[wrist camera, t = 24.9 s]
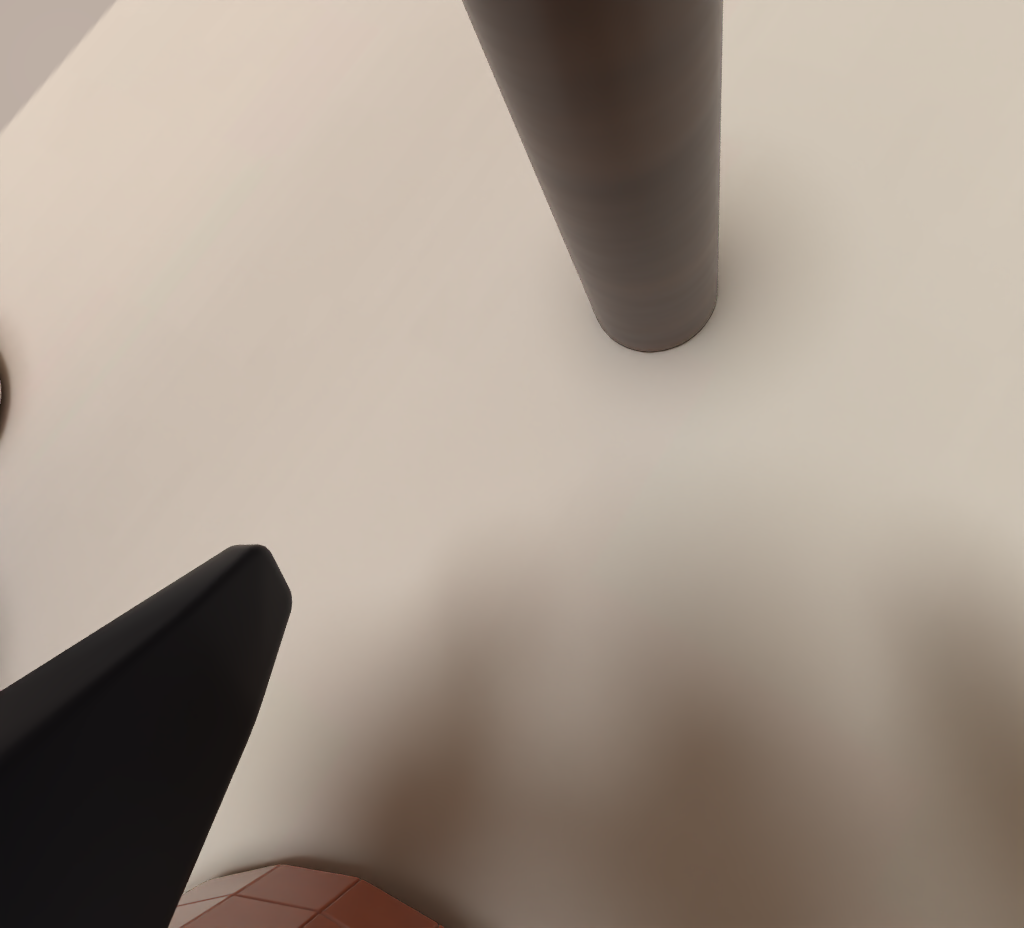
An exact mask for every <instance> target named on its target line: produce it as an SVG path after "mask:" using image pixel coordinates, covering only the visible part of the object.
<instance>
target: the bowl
mask: <svg viewBox="0 0 1024 928" xmlns="http://www.w3.org/2000/svg"><path fill="white" fill-rule="evenodd" d="M168 928H444V927H443V926H442V925H439V926H438V923H437V922H436V921H434V920H432V919H430V918H429V917H427V916H425V915H424V914H422V913H420V912H418V911H417V910H415V909H413V908H412V907H410V906H408V905H406V904H405V903H403V902H401V901H400V900H398V899H396V898H394V897H393V896H391V895H389V894H388V893H386V892H384V891H382V890H381V889H379V888H377V887H376V886H374V885H372V884H370V883H369V882H367V881H365V880H362V879H361V880H360V878H358V877H353V876H348V875H342V874H336V873H331V872H325V871H319V870H314V869H308V868H302V867H296V866H291V865H285V864H283V865H280V864H277V865H273V866H268V867H264V868H259V869H255V870H250V871H246V872H241V873H237V874H232V875H228V876H223V877H219V878H214V879H210V880H208V881H205V882H203V883H202V884H200V885H198V886H197V887H195V888H193V889H191V890H190V891H188V892H186V893H184V894H183V895H182V896H181V899H180V901H179V903H178V906H177V908H176V910H175V913H174V915H173V917H172V920H171V922H170V924H169V927H168Z"/></svg>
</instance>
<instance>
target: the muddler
mask: <svg viewBox="0 0 1024 928" xmlns="http://www.w3.org/2000/svg"><path fill="white" fill-rule="evenodd" d="M462 2H463V4H464V6H465V9H466V11H467V13H468V16H469V18H470V20H471V23H472V25H473V28H474V30H475V32H476V35H477V37H478V39H479V42H480V44H481V46H482V49H483V51H484V53H485V56H486V58H487V61H488V63H489V65H490V68H491V70H492V72H493V75H494V77H495V79H496V82H497V84H498V86H499V89H500V91H501V94H502V96H503V98H504V101H505V103H506V105H507V108H508V110H509V112H510V115H511V117H512V119H513V122H514V124H515V127H516V129H517V131H518V134H519V136H520V138H521V141H522V143H523V145H524V148H525V150H526V152H527V155H528V157H529V160H530V162H531V164H532V167H533V169H534V171H535V174H536V176H537V178H538V181H539V183H540V185H541V188H542V190H543V193H544V195H545V197H546V200H547V202H548V204H549V207H550V209H551V211H552V214H553V216H554V218H555V221H556V223H557V226H558V228H559V230H560V233H561V235H562V237H563V240H564V242H565V244H566V247H567V249H568V251H569V254H570V256H571V259H572V261H573V263H574V266H575V268H576V270H577V273H578V275H579V277H580V280H581V282H582V284H583V287H584V289H585V292H586V294H587V296H588V299H589V301H590V303H591V306H592V308H593V310H594V313H595V315H596V317H597V320H598V322H599V323H600V325H601V327H602V328H603V330H604V331H605V332H606V333H607V334H608V335H609V336H610V337H611V338H612V339H613V340H615V341H616V342H618V343H619V344H621V345H623V346H625V347H628V348H631V349H634V350H639V351H661V350H666V349H670V348H673V347H675V346H678V345H680V344H682V343H684V342H686V341H687V340H689V339H690V338H692V337H693V336H694V335H695V334H696V333H698V332H699V331H700V330H701V328H702V327H703V326H704V325H705V324H706V322H707V321H708V319H709V318H710V316H711V314H712V312H713V310H714V307H715V304H716V299H717V292H718V244H719V191H720V137H721V84H722V30H723V0H462Z"/></svg>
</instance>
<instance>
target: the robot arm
mask: <svg viewBox="0 0 1024 928" xmlns="http://www.w3.org/2000/svg"><path fill="white" fill-rule="evenodd" d="M291 607H292V596H291V591H290V589H289V587H288V585H287V583H286V581H285V579H284V577H283V575H282V573H281V571H280V569H279V567H278V565H277V563H276V561H275V559H274V557H273V556H272V554H271V552H270V551H269V550H268V549H267V548H266V547H265V546H262V545H235V546H231V547H229V548H227V549H226V550H224V551H222V552H221V553H219V554H218V555H216V556H214V557H213V558H211V559H210V560H208V561H207V562H205V563H203V564H202V565H200V566H199V567H197V568H195V569H194V570H192V571H191V572H189V573H188V574H186V575H184V576H183V577H181V578H180V579H178V580H176V581H175V582H173V583H172V584H170V585H168V586H167V587H165V588H164V589H162V590H161V591H159V592H157V593H156V594H154V595H153V596H151V597H149V598H148V599H146V600H145V601H143V602H142V603H140V604H138V605H137V606H135V607H134V608H132V609H130V610H129V611H127V612H126V613H124V614H123V615H121V616H119V617H118V618H116V619H115V620H113V621H111V622H110V623H108V624H107V625H105V626H104V627H102V628H100V629H99V630H97V631H96V632H94V633H92V634H91V635H89V636H88V637H86V638H84V639H83V640H81V641H80V642H78V643H77V644H75V645H73V646H72V647H70V648H69V649H67V650H65V651H64V652H62V653H61V654H59V655H58V656H56V657H54V658H53V659H51V660H50V661H48V662H46V663H45V664H43V665H42V666H40V667H39V668H37V669H35V670H34V671H32V672H31V673H29V674H27V675H26V676H24V677H23V678H21V679H19V680H18V681H16V682H15V683H13V684H12V685H10V686H8V687H7V688H5V689H4V690H2V691H0V928H168V927H169V924H170V922H171V920H172V917H173V915H174V913H175V910H176V908H177V906H178V903H179V901H180V899H181V896H182V894H183V891H184V889H185V887H186V884H187V882H188V880H189V877H190V875H191V873H192V870H193V868H194V866H195V863H196V861H197V859H198V856H199V854H200V852H201V849H202V847H203V845H204V842H205V840H206V838H207V835H208V833H209V831H210V828H211V826H212V823H213V821H214V819H215V816H216V814H217V812H218V809H219V807H220V805H221V802H222V800H223V798H224V795H225V793H226V791H227V788H228V786H229V784H230V781H231V779H232V777H233V774H234V772H235V770H236V767H237V765H238V763H239V760H240V758H241V756H242V753H243V751H244V748H245V746H246V744H247V741H248V739H249V737H250V734H251V731H252V729H253V726H254V724H255V721H256V719H257V716H258V713H259V710H260V707H261V704H262V701H263V698H264V695H265V692H266V688H267V685H268V682H269V679H270V676H271V673H272V669H273V666H274V663H275V660H276V657H277V654H278V650H279V647H280V644H281V641H282V638H283V635H284V631H285V628H286V625H287V622H288V619H289V616H290V612H291Z"/></svg>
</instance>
